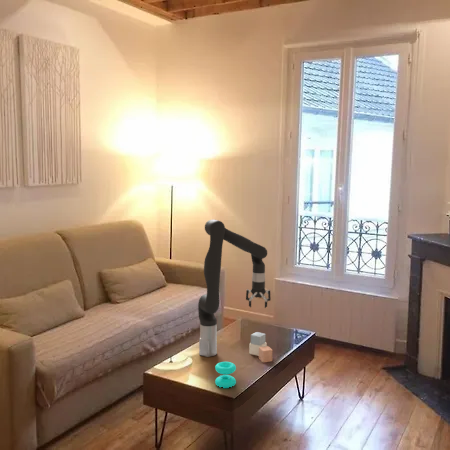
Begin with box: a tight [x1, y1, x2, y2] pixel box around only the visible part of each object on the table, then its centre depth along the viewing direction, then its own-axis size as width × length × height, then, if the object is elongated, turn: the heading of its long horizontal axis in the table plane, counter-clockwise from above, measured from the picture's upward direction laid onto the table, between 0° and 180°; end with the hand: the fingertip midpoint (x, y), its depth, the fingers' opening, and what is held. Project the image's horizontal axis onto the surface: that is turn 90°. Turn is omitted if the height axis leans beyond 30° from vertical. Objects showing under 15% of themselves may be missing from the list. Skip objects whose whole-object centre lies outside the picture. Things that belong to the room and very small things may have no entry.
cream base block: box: [248, 341, 268, 357], centre depth 275 cm, size 7×7×6 cm
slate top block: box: [250, 331, 267, 346], centre depth 274 cm, size 6×6×5 cm
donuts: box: [214, 361, 237, 389], centre depth 235 cm, size 10×10×10 cm
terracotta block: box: [258, 345, 274, 363], centre depth 265 cm, size 6×6×6 cm
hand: (258, 307), depth 284 cm, fingers open, 8 cm apart
